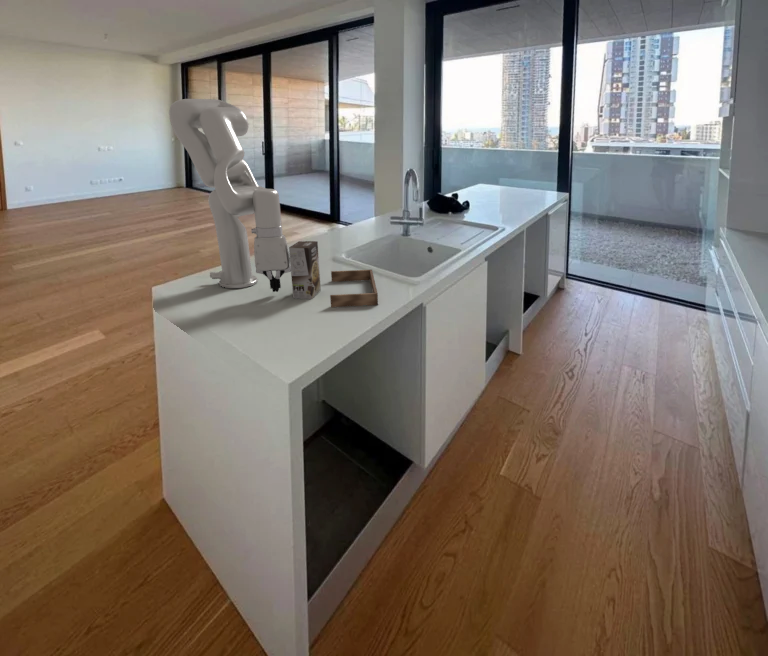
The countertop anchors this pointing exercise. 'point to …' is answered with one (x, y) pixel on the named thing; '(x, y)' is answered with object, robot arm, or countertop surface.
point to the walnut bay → (354, 298)
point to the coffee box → (305, 269)
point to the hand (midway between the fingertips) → (275, 290)
